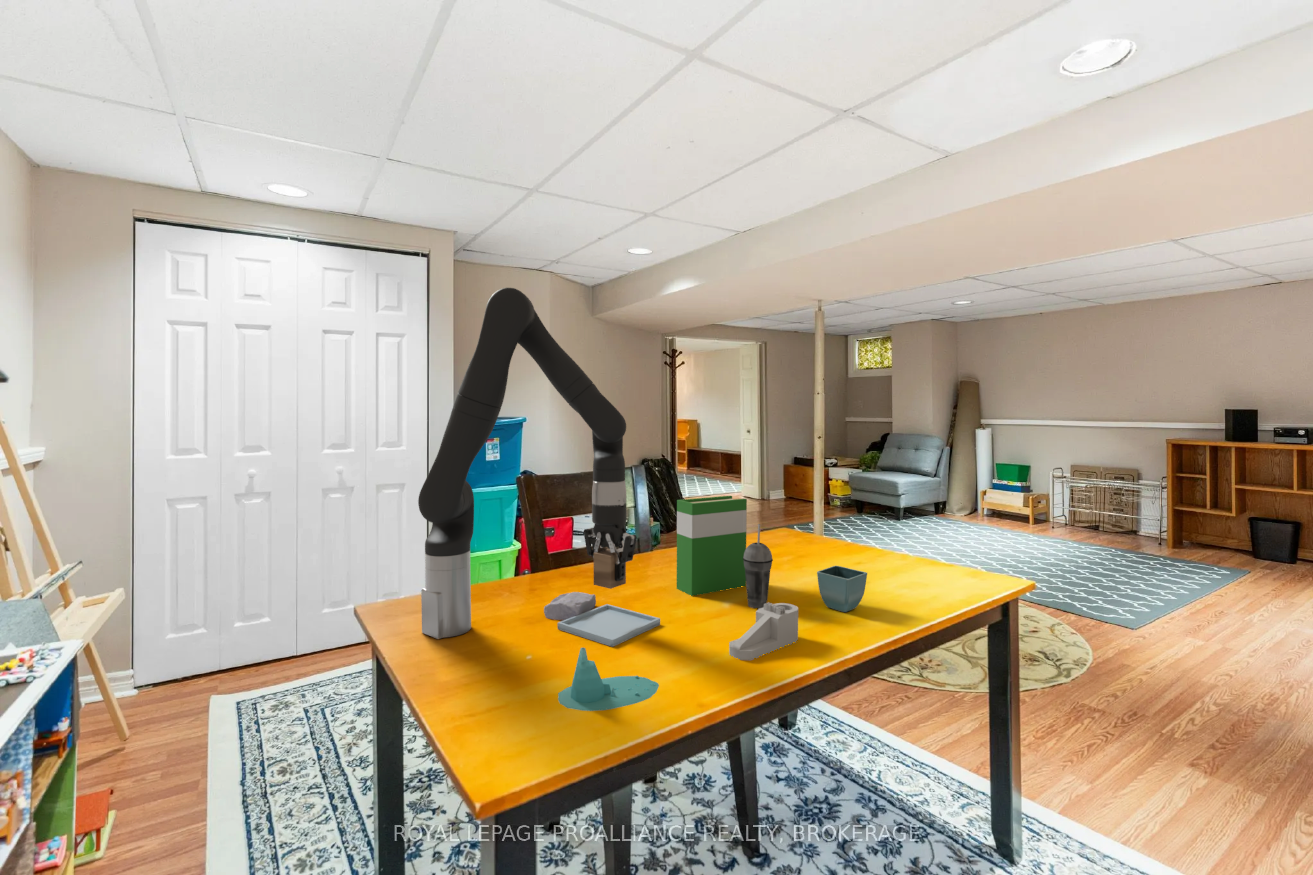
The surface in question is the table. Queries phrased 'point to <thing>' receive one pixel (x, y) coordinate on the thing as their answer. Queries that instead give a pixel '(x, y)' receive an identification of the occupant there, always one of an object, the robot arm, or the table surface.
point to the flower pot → (841, 587)
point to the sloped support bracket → (767, 632)
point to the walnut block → (606, 570)
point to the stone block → (569, 605)
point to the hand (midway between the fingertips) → (609, 577)
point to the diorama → (603, 688)
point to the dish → (609, 624)
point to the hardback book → (711, 544)
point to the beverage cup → (757, 572)
